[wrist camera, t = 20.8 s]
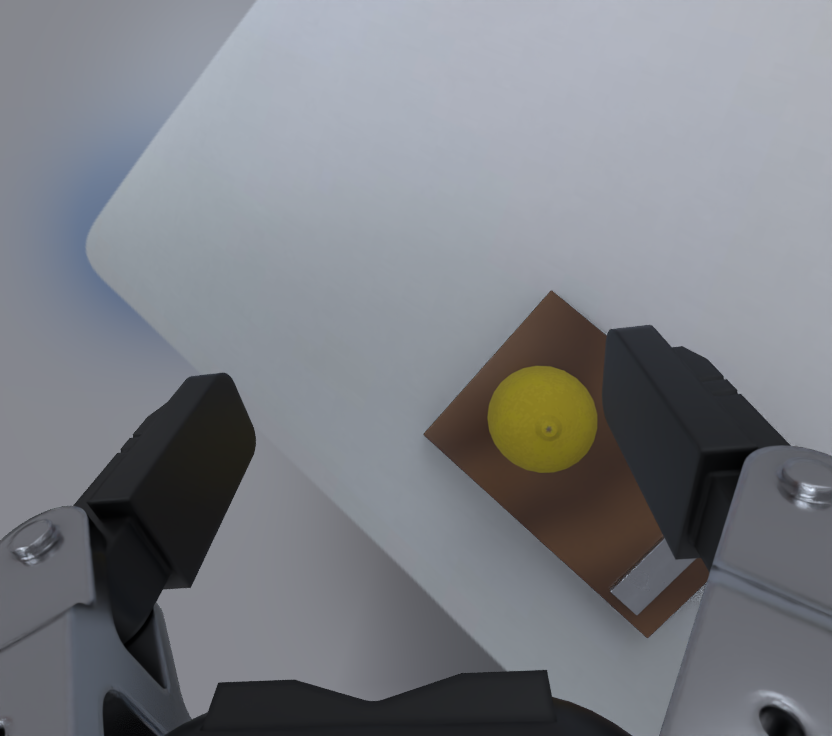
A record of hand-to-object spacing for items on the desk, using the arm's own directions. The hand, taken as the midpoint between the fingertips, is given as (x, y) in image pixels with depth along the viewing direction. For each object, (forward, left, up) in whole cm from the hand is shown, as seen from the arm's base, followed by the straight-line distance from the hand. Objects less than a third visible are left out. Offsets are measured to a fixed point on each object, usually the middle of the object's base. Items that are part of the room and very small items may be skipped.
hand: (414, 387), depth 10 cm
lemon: (+3, -4, -19) cm, 20 cm away
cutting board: (+5, -9, -21) cm, 23 cm away
